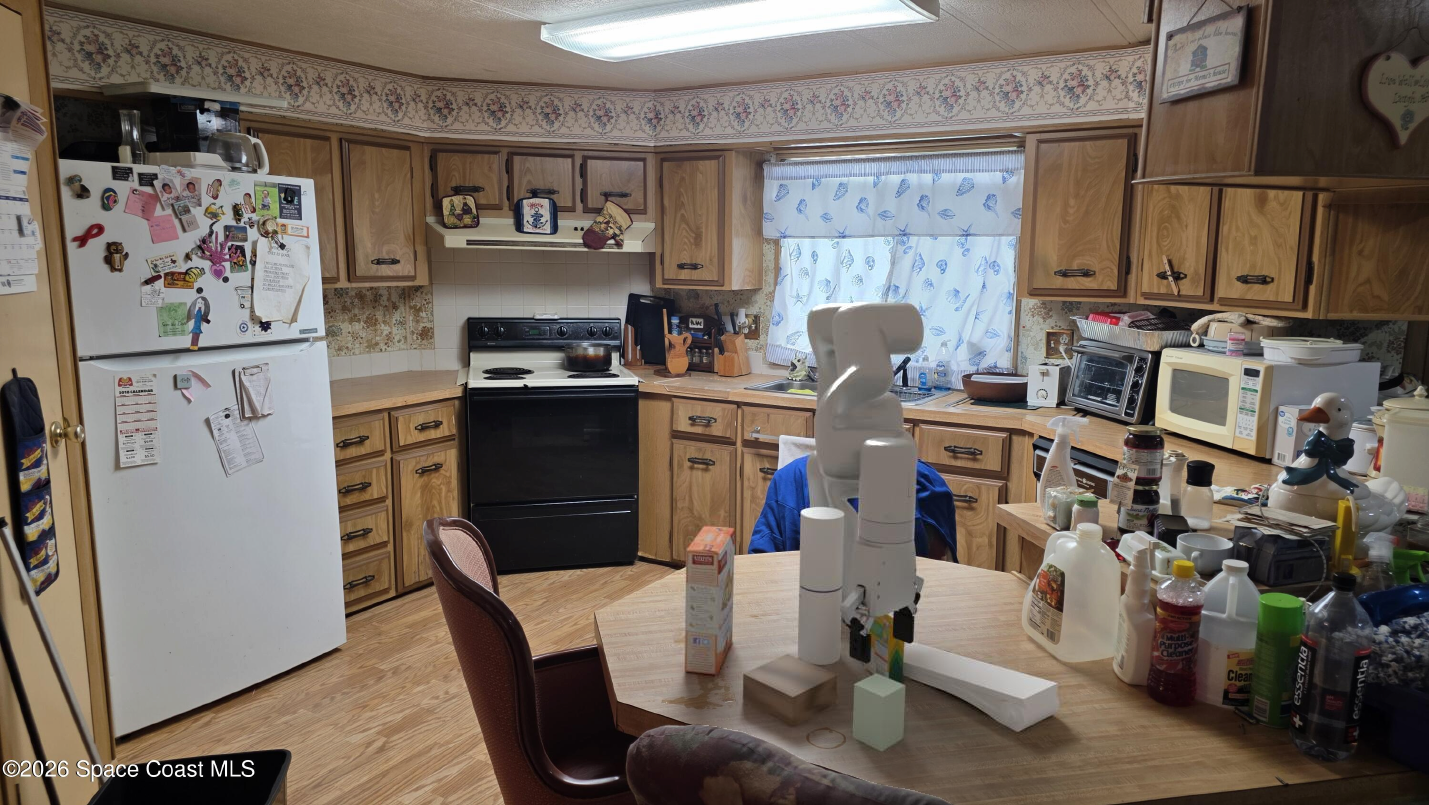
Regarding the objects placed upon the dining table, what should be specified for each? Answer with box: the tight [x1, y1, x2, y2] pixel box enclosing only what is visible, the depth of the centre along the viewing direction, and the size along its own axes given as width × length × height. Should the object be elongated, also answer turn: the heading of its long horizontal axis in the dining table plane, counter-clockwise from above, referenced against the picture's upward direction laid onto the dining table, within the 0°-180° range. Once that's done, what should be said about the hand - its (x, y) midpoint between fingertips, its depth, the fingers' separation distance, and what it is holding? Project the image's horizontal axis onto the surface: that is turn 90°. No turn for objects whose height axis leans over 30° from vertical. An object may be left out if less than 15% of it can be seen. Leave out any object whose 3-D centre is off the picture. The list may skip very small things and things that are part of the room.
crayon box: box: [864, 608, 905, 684], centre depth 144 cm, size 7×3×12 cm, turn 21°
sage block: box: [852, 673, 906, 752], centre depth 125 cm, size 5×5×8 cm
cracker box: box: [684, 525, 736, 676], centre depth 150 cm, size 14×6×21 cm, turn 168°
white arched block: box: [903, 641, 1060, 732], centre depth 141 cm, size 10×7×28 cm
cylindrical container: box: [797, 507, 844, 666], centre depth 150 cm, size 7×7×25 cm
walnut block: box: [742, 653, 838, 729], centre depth 135 cm, size 10×10×5 cm
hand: (881, 650), depth 124 cm, fingers open, 9 cm apart
